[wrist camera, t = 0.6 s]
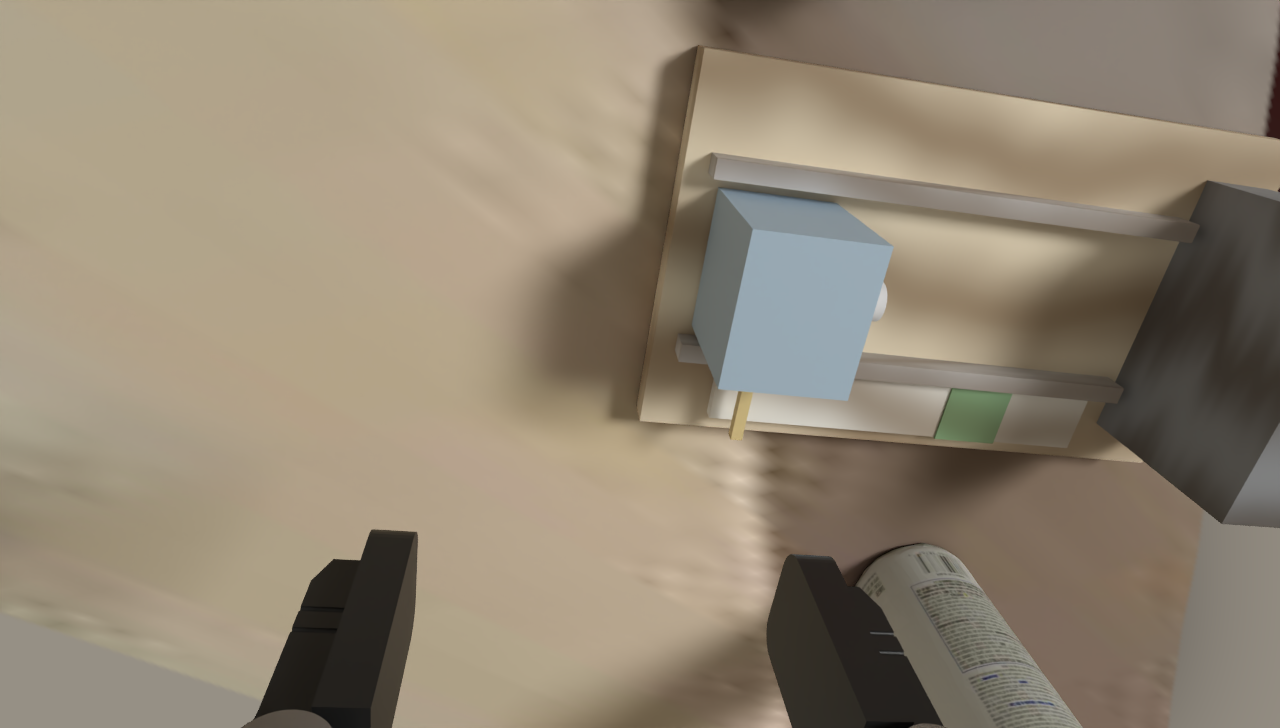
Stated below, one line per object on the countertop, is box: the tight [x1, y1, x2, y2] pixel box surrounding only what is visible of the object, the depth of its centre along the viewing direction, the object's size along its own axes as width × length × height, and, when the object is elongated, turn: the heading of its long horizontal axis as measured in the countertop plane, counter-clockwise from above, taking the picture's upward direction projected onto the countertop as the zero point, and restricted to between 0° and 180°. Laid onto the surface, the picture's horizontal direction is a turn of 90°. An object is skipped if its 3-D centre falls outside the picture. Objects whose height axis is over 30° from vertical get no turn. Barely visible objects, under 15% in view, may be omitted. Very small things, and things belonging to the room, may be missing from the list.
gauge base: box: [637, 45, 1280, 528], centre depth 31 cm, size 16×26×10 cm, turn 81°
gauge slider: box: [692, 187, 894, 440], centre depth 31 cm, size 10×6×6 cm, turn 171°
